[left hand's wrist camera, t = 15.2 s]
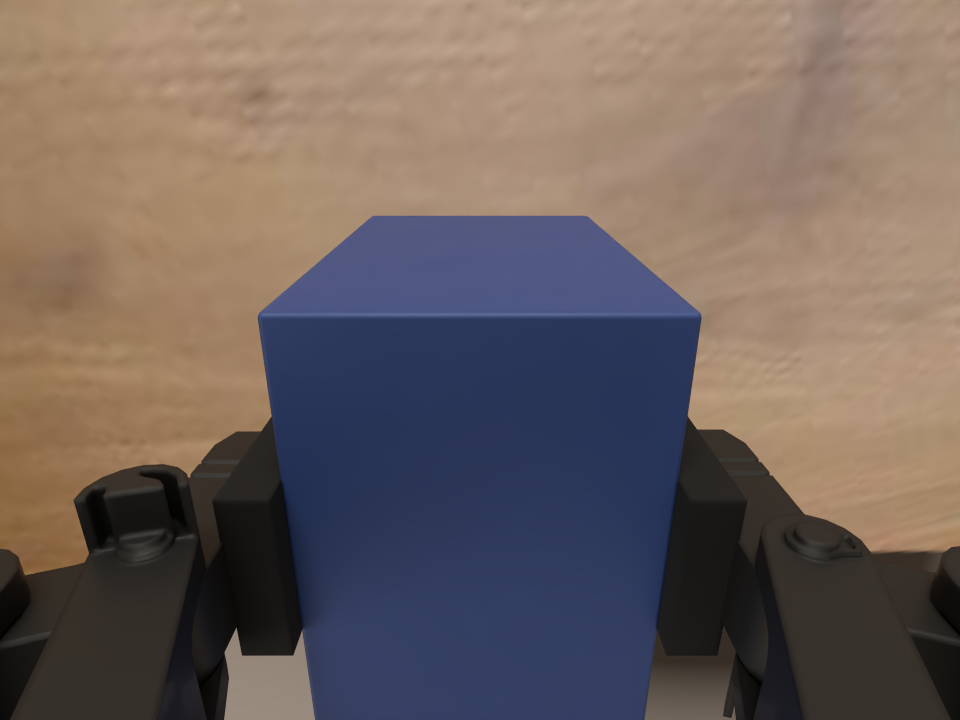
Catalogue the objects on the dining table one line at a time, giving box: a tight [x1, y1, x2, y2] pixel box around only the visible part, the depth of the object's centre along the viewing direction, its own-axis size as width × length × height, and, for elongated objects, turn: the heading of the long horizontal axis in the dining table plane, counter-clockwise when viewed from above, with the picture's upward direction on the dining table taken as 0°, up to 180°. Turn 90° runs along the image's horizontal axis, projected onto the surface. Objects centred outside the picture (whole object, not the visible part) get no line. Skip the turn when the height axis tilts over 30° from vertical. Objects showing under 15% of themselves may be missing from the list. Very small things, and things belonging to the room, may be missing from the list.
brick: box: [258, 216, 701, 720], centre depth 13 cm, size 8×6×8 cm
